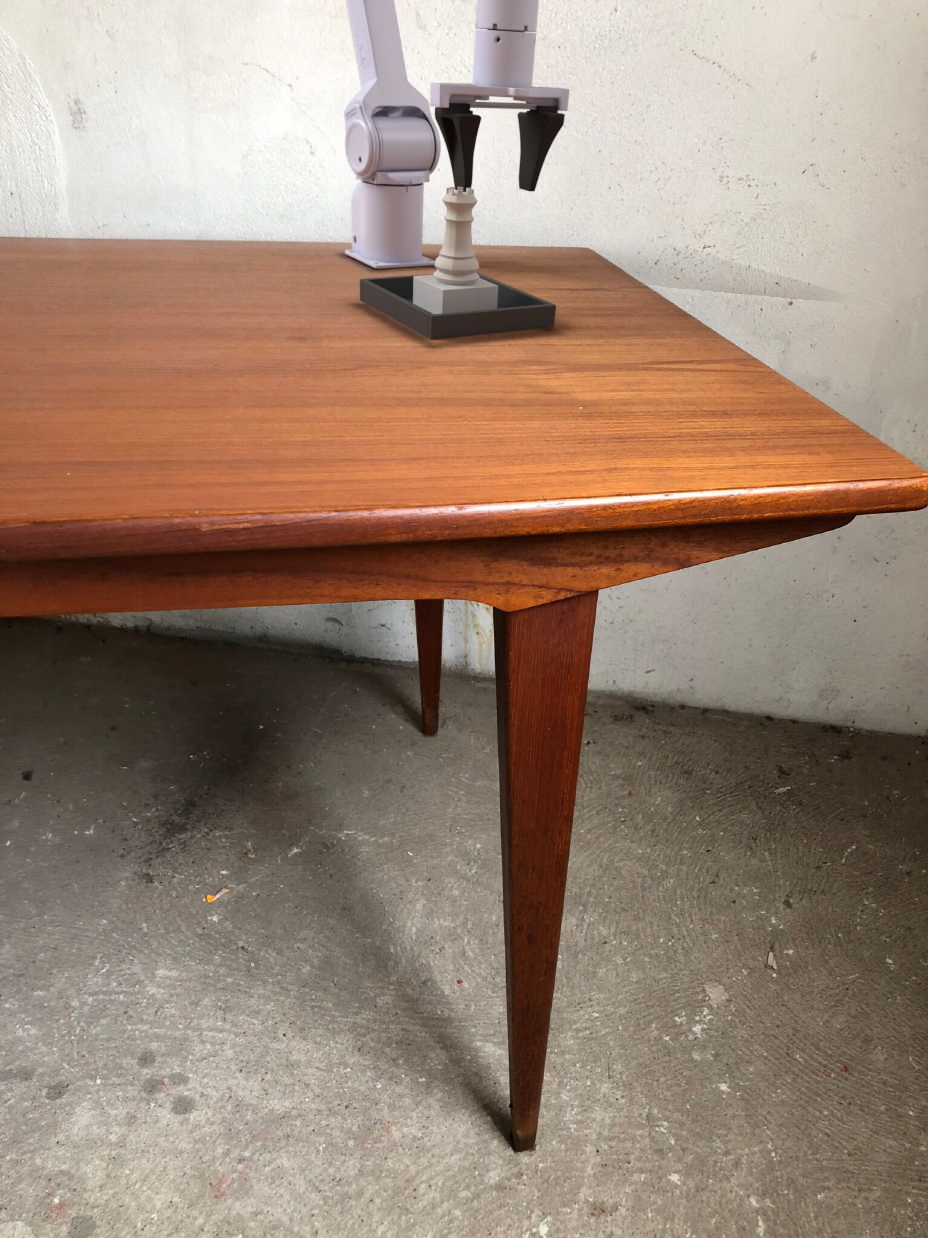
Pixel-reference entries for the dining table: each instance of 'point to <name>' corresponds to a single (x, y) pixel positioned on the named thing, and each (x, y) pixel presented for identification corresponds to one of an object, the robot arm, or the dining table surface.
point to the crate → (509, 316)
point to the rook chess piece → (457, 240)
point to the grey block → (453, 295)
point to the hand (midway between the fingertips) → (495, 190)
